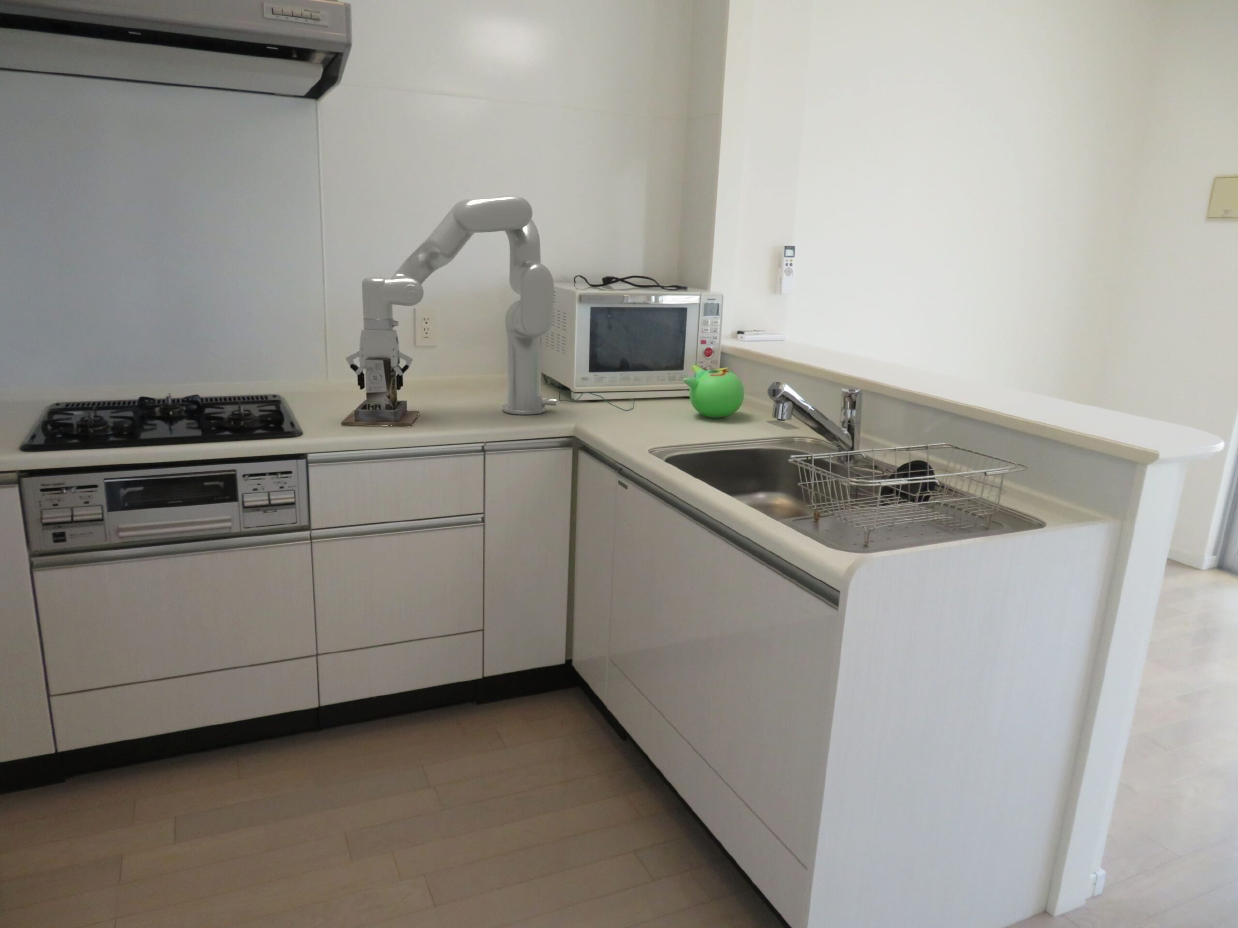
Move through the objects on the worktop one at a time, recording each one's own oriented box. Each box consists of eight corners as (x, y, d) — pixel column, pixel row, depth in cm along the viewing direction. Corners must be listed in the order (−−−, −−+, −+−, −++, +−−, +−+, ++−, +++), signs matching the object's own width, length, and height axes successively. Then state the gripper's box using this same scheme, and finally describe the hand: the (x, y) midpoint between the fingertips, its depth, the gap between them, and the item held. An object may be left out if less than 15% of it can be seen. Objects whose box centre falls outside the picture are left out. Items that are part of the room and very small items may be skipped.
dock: (419, 414, 252) (419, 400, 251) (411, 426, 237) (410, 411, 236) (354, 413, 251) (353, 399, 250) (341, 425, 235) (340, 410, 234)
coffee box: (390, 420, 239) (388, 359, 235) (366, 419, 239) (363, 359, 235) (398, 413, 248) (396, 354, 244) (375, 412, 248) (373, 354, 244)
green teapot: (740, 425, 252) (743, 373, 248) (680, 420, 255) (682, 369, 251) (744, 412, 269) (747, 364, 265) (688, 408, 272) (691, 360, 268)
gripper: (413, 324, 242) (415, 387, 246) (347, 322, 240) (350, 386, 245) (409, 327, 234) (411, 392, 239) (341, 325, 233) (344, 391, 237)
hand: (380, 389), depth 242 cm, fingers open, 9 cm apart
